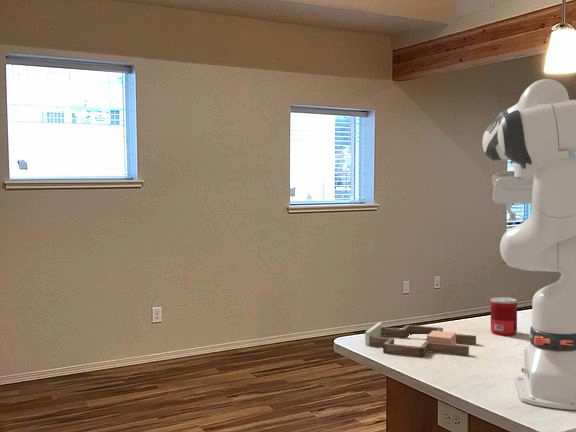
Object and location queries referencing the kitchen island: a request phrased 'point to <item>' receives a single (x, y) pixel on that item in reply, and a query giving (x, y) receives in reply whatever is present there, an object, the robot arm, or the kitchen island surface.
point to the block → (442, 337)
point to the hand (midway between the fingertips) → (530, 219)
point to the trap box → (389, 347)
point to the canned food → (504, 316)
